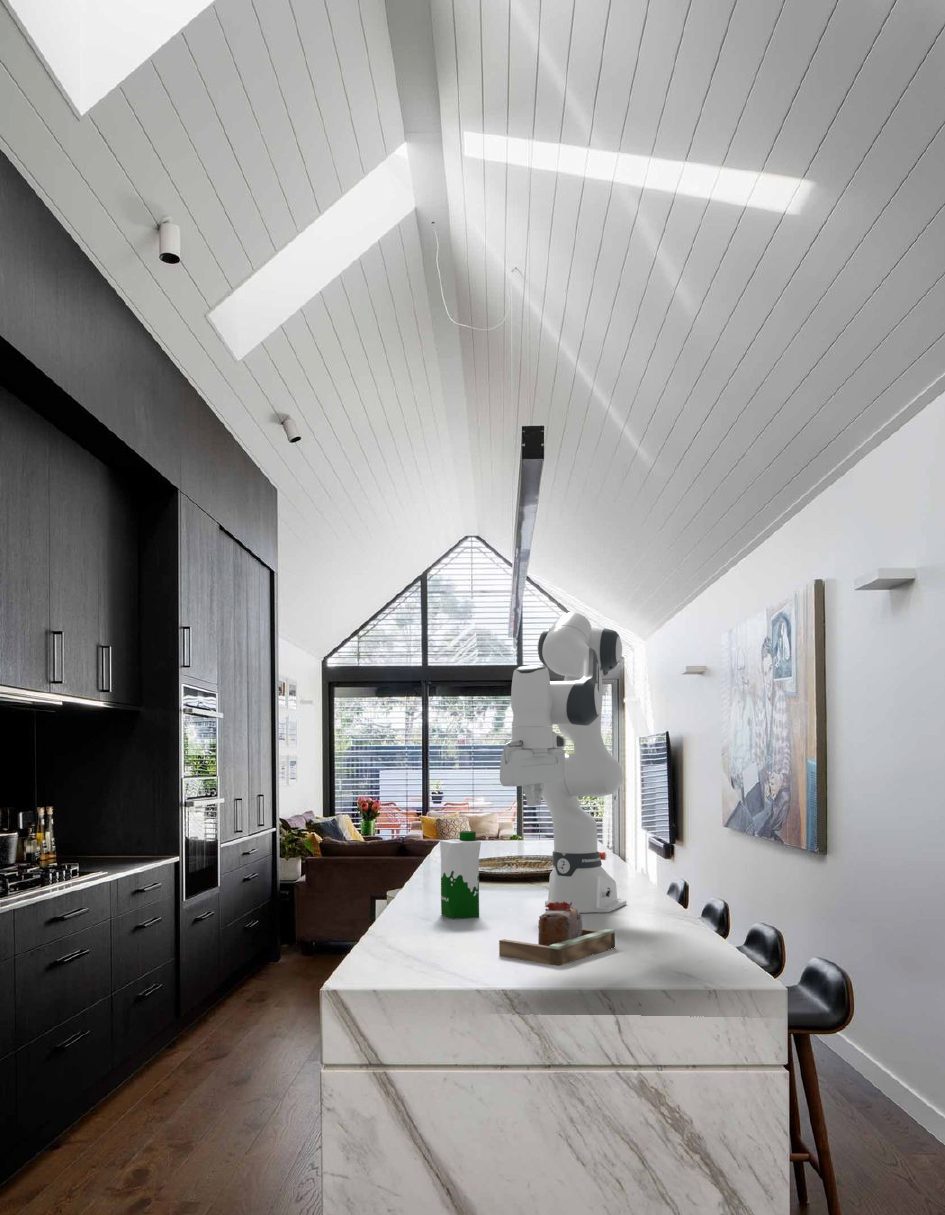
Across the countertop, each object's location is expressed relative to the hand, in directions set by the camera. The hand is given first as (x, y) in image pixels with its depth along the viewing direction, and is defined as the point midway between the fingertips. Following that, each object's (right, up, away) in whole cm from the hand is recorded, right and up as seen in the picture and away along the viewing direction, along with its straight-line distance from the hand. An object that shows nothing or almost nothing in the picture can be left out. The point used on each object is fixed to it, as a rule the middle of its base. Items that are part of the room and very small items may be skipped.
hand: (533, 805), depth 210 cm
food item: (+5, -28, -11) cm, 30 cm away
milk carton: (-16, -33, +30) cm, 47 cm away
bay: (+4, -27, -12) cm, 30 cm away
